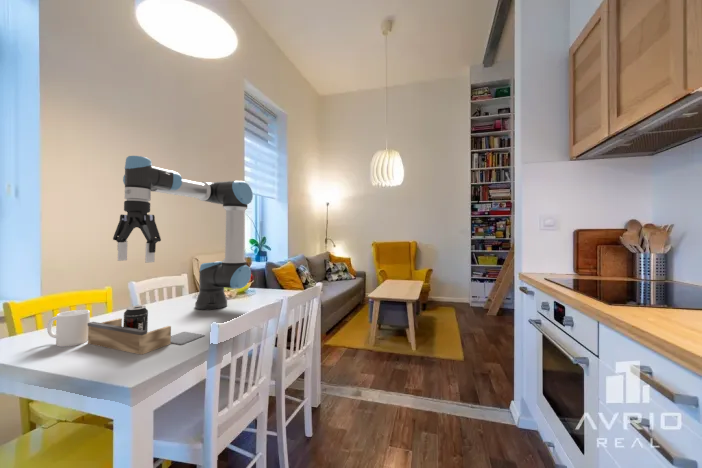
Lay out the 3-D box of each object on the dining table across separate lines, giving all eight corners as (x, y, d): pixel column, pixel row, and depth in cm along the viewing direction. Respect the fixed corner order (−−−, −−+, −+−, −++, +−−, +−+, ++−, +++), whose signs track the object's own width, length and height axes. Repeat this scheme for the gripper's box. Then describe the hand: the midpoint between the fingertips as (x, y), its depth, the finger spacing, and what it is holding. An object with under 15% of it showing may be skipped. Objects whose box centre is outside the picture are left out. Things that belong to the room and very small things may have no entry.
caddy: (119, 334, 111) (119, 315, 111) (170, 343, 102) (171, 323, 102) (87, 343, 101) (87, 323, 101) (141, 354, 93) (141, 332, 93)
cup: (76, 346, 98) (77, 315, 98) (35, 347, 97) (36, 316, 97) (95, 338, 107) (95, 309, 107) (57, 338, 105) (58, 309, 105)
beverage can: (148, 342, 103) (149, 307, 103) (123, 346, 99) (124, 310, 99) (146, 337, 109) (146, 304, 109) (122, 341, 104) (123, 306, 104)
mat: (184, 332, 114) (184, 331, 114) (204, 335, 111) (204, 334, 111) (159, 341, 105) (159, 340, 105) (181, 345, 102) (181, 343, 102)
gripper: (101, 200, 106) (100, 260, 106) (153, 198, 98) (151, 263, 97) (123, 202, 113) (122, 259, 113) (173, 201, 105) (172, 262, 104)
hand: (135, 261), depth 105 cm, fingers open, 13 cm apart
